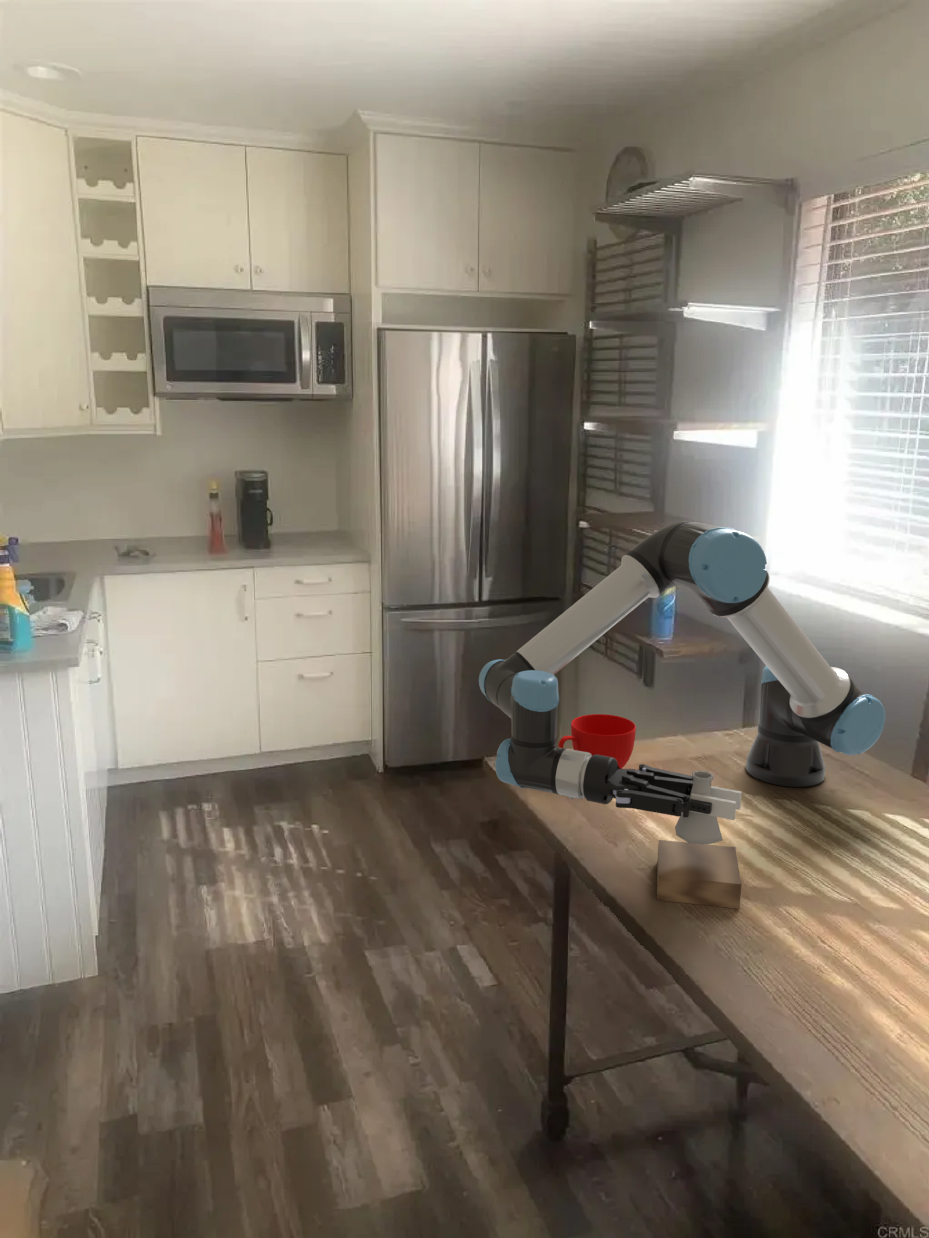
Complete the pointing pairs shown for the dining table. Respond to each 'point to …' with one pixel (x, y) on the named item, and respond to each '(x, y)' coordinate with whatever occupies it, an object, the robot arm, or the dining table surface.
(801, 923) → the dining table surface
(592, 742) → the ceramic cup
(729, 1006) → the dining table surface
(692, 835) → the flask
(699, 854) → the plinth
